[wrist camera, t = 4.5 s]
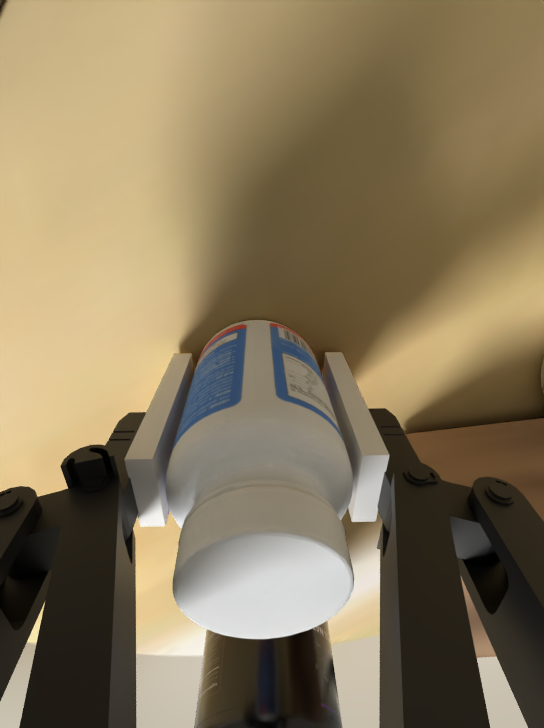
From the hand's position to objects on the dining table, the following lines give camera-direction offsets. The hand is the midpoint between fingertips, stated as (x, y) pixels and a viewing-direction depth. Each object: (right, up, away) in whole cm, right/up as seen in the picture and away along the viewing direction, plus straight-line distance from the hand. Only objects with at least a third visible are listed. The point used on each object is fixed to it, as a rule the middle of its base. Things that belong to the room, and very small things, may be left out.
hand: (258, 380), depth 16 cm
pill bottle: (0, 0, 0) cm, 1 cm away
